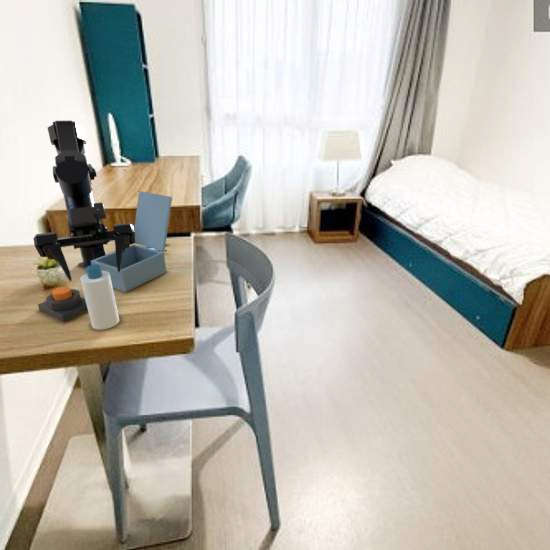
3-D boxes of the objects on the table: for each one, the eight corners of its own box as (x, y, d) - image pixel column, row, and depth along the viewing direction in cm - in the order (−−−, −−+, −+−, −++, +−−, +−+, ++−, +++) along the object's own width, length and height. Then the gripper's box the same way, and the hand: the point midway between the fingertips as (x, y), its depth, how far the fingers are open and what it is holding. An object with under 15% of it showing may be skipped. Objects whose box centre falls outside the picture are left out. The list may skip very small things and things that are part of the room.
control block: (39, 311, 81) (35, 297, 80) (69, 297, 87) (65, 284, 85) (64, 322, 77) (60, 308, 76) (93, 307, 83) (90, 294, 81)
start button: (50, 298, 80) (48, 291, 79) (66, 291, 83) (64, 285, 82) (60, 302, 79) (58, 295, 78) (75, 295, 81) (74, 288, 81)
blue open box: (125, 292, 90) (121, 271, 87) (95, 281, 95) (90, 260, 92) (166, 272, 100) (163, 252, 98) (136, 263, 105) (133, 244, 103)
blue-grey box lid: (170, 196, 95) (172, 197, 96) (138, 190, 100) (141, 191, 101) (162, 250, 97) (164, 250, 98) (132, 242, 102) (134, 242, 103)
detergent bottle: (86, 325, 77) (71, 269, 71) (108, 313, 81) (96, 259, 75) (103, 332, 74) (89, 275, 69) (124, 320, 79) (113, 265, 73)
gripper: (21, 194, 69) (33, 269, 65) (126, 185, 76) (142, 252, 72) (35, 223, 78) (46, 290, 74) (127, 212, 86) (142, 272, 82)
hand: (95, 276), depth 76 cm, fingers open, 9 cm apart
